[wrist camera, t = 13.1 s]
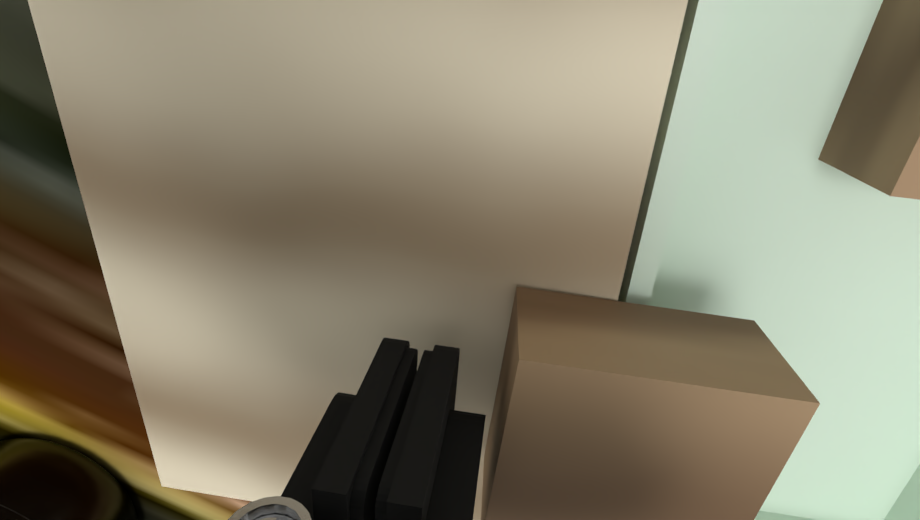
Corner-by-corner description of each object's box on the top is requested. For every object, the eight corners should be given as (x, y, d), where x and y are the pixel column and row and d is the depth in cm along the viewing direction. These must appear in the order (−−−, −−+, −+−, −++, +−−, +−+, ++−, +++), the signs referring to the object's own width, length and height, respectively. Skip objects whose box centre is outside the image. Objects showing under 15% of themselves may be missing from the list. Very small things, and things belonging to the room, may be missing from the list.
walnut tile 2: (516, 286, 11) (518, 360, 8) (754, 320, 11) (820, 403, 8) (483, 455, 13) (479, 548, 11) (680, 485, 13) (716, 585, 11)
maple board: (35, -431, 9) (-133, -581, 7) (748, -436, 8) (832, -616, 6) (208, 426, 18) (161, 486, 15) (555, 480, 17) (558, 552, 14)
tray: (768, -436, 8) (925, -740, 5) (1510, -440, 7) (2314, -814, 4) (564, 481, 17) (571, 590, 13) (880, 530, 16) (966, 658, 13)
